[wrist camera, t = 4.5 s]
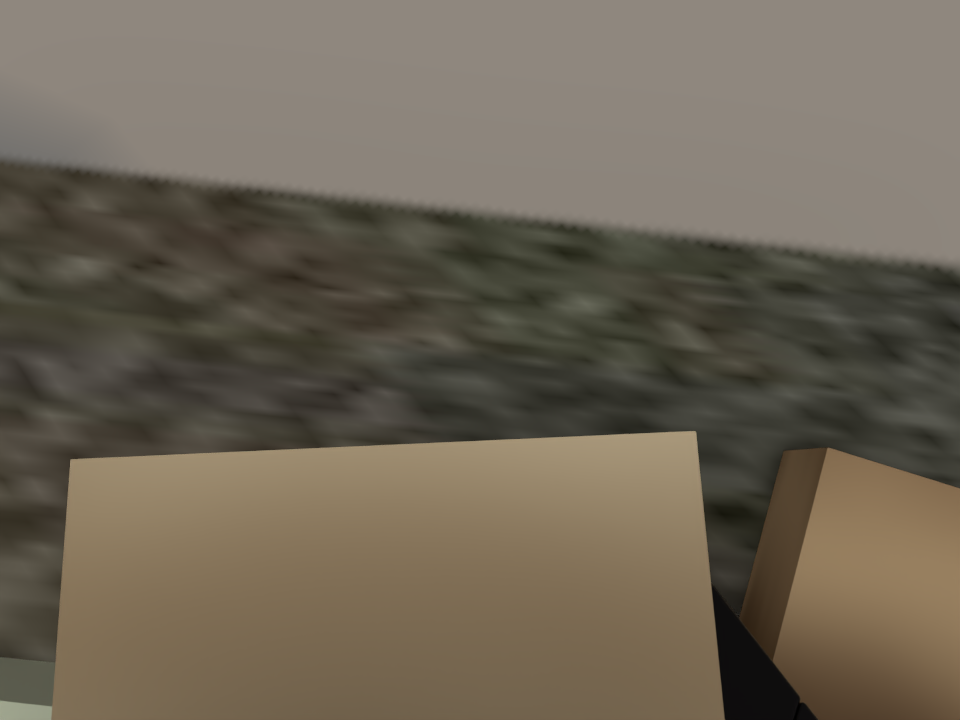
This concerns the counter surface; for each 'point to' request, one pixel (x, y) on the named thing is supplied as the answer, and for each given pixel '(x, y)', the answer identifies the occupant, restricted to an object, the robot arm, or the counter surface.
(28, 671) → the sage block
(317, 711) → the beech post
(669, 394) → the counter surface
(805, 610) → the oak block
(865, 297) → the counter surface
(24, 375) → the counter surface
